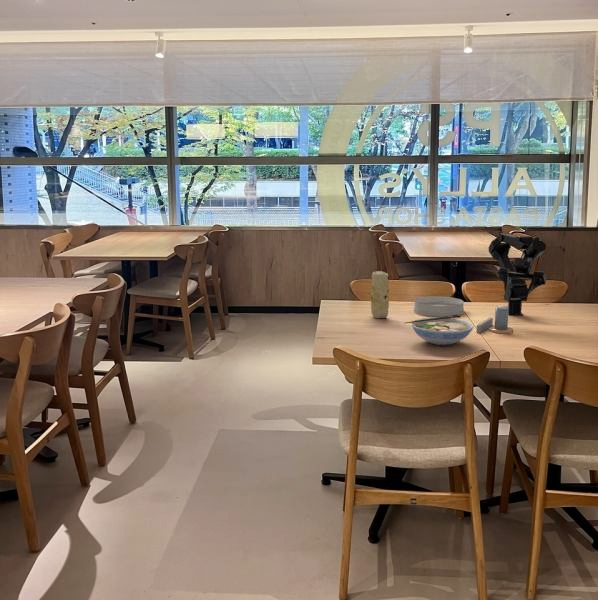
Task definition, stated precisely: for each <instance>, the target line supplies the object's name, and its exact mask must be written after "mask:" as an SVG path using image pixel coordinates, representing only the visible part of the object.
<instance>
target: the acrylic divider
mask: <svg viewBox="0 0 598 600" xmlns="http://www.w3.org/2000/svg"><path fill="white" fill-rule="evenodd" d="M493 321H494V317H488V318H486V319H485V320H482V322H480V323H478V324H477V325H476V333H477V334H480V333H482V332H484V331H485V330H487V329H489V328H490V327H493V323H494V322H493Z"/></svg>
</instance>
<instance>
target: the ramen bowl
mask: <svg viewBox="0 0 598 600" xmlns="http://www.w3.org/2000/svg"><path fill="white" fill-rule="evenodd" d="M461 317H462V316H461V315H457V314H456V315H450V316H431V317H422V318H417V319H413V320H411V321H407V322H405V321H404V324H411V327H412V329H413V330H414V332H415V334H416V335H417V336H418V338H419V337H420V338H421V340H424V341H426V342H428V343H431V344H432V345H434V344H435V346H440V345H443V347H444V346H445V345H446V346H450V345H452V344H456V343H459V342H461V341H462V340H464V339H466V338H467V337H468V335H470V333H471V332H472V331H473V330H474V327H475V326H474V324H473V322H470V321H468V320H464V319H460V318H461Z"/></svg>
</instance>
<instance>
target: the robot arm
mask: <svg viewBox="0 0 598 600" xmlns="http://www.w3.org/2000/svg"><path fill="white" fill-rule="evenodd" d="M512 246H513V247H514V248H515V249H516V250H517V251H519V250H520V251H522V250H523V251H522V252H521V253H522V254H521V256H520V257H514V259H513V263H512V261H511V260H510V257H509V255H510V254H509V253H510V249H511V247H512ZM546 249H547V245H546V243H545V242H544V241H542V239H540V237H534V236H532V235H525V236H524V235H516V234H513V233H511V232H501V233H499V234H498V236H497V237H495V238H494V239H492V240H491V242H490V244H489V246H488V252H489V255H490V256H491V257H492V259H494V260H495V261H497V262H498V264H499V267H500V268H499V269H498V271H497V275H498V277H499V279H500V281H502V282H503V288H504V289H503V290H504V293H503V300H504V301H506V302H507V306H508V309H509V311H508V316H525V314H524V313H523V312H522V310H523V308H522V307H523V302H527V300H528V296H529V294H531V293H532V292H533V291H534V290H535V289H537V288H538V287H541V286H542V285H544V286H545V285H546V283H547V276H546V273H545V271H542V270H541V271H539V270H534V265H535V262H536V259H537V258H538V257H540V256H541V255H542V254H543V252H545V250H546ZM533 270H534V272H533ZM531 272H533V274H531ZM526 280H531V281H530V283H529V286H528V284H527V282H526Z"/></svg>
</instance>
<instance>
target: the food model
mask: <svg viewBox="0 0 598 600" xmlns="http://www.w3.org/2000/svg"><path fill="white" fill-rule="evenodd" d="M370 283H371V285H370V309H371V315H372V317H373V318H375V319H380V318H383V319H384V318H385V319H386V318H388V315H389V307H390V276H389V274H388V273H387V272H385V271H381V270H377V271H373V272H372V273H371V282H370Z"/></svg>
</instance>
